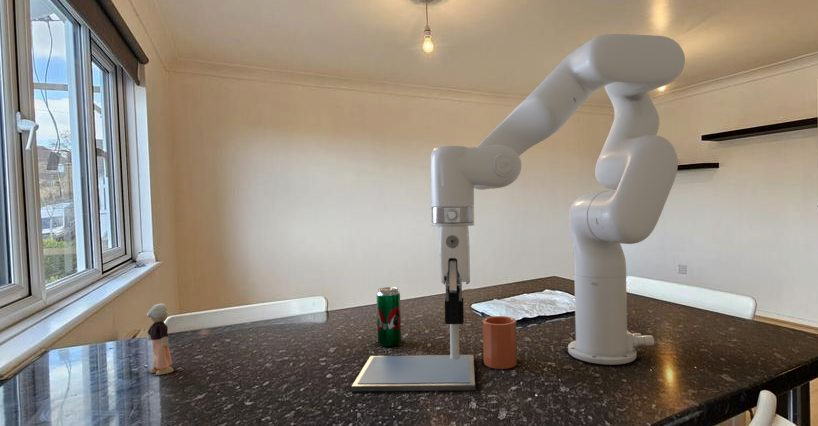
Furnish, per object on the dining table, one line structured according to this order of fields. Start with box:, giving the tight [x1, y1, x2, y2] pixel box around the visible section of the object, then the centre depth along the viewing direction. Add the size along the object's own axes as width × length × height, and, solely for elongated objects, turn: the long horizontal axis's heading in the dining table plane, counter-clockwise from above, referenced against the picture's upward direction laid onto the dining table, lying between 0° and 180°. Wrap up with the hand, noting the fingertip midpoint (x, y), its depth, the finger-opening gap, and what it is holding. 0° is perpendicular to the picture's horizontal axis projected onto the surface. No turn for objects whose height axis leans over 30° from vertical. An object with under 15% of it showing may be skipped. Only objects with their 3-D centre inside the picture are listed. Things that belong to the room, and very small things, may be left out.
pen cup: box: [482, 315, 518, 370], centre depth 80 cm, size 6×6×8 cm
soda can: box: [376, 286, 402, 348], centre depth 93 cm, size 5×5×12 cm
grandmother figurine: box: [145, 303, 175, 376], centre depth 81 cm, size 8×4×13 cm, turn 65°
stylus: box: [449, 324, 460, 360], centre depth 75 cm, size 2×2×12 cm
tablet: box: [351, 354, 476, 393], centre depth 76 cm, size 20×14×1 cm
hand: (454, 321), depth 75 cm, fingers closed on stylus, 1 cm apart
